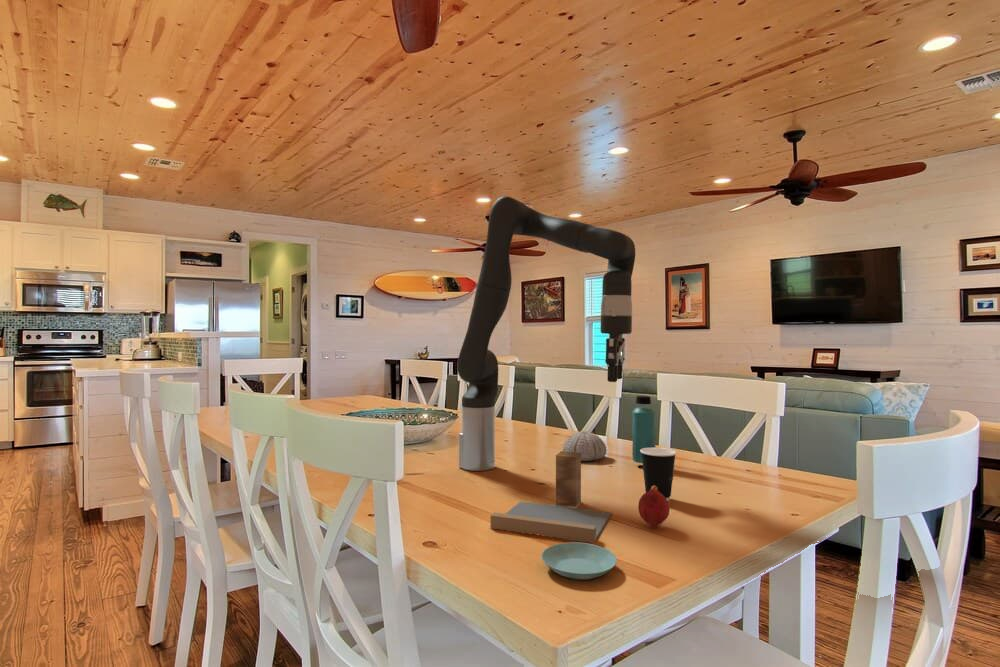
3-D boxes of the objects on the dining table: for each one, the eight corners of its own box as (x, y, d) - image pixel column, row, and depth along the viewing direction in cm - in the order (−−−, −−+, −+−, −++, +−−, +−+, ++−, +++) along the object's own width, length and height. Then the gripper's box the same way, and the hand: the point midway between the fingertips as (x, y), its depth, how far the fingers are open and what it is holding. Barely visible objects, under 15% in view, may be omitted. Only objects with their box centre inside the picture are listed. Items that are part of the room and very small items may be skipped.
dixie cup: (634, 495, 127) (634, 447, 127) (666, 493, 128) (666, 446, 128) (649, 505, 119) (649, 455, 119) (683, 503, 120) (683, 454, 120)
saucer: (626, 586, 81) (626, 571, 81) (548, 589, 80) (548, 573, 80) (605, 554, 93) (605, 541, 93) (536, 556, 92) (536, 543, 92)
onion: (664, 534, 102) (664, 491, 102) (634, 529, 105) (634, 487, 105) (672, 525, 107) (672, 484, 107) (643, 520, 110) (643, 480, 110)
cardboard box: (555, 505, 119) (555, 455, 119) (561, 500, 123) (561, 451, 123) (575, 508, 117) (576, 457, 117) (580, 502, 121) (581, 452, 121)
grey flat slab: (490, 528, 105) (490, 515, 105) (520, 503, 121) (520, 491, 121) (593, 543, 97) (593, 529, 97) (611, 514, 113) (611, 502, 113)
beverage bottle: (658, 469, 152) (658, 397, 152) (634, 469, 152) (634, 397, 152) (652, 463, 158) (652, 394, 158) (629, 463, 158) (629, 394, 158)
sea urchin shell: (561, 462, 160) (561, 435, 160) (563, 452, 173) (563, 427, 173) (607, 464, 158) (607, 436, 158) (606, 454, 171) (606, 428, 171)
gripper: (605, 315, 142) (604, 377, 142) (595, 313, 129) (594, 382, 129) (635, 315, 140) (634, 378, 140) (628, 313, 126) (626, 383, 126)
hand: (615, 380), depth 134 cm, fingers open, 8 cm apart
